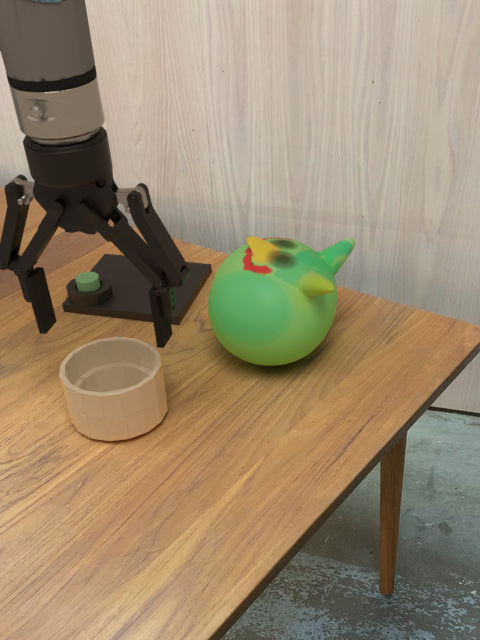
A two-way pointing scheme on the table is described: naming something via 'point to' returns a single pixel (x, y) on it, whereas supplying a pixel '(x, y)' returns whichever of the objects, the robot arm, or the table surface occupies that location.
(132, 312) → the scale
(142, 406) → the bowl
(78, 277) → the button
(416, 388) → the table surface
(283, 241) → the toy bird
